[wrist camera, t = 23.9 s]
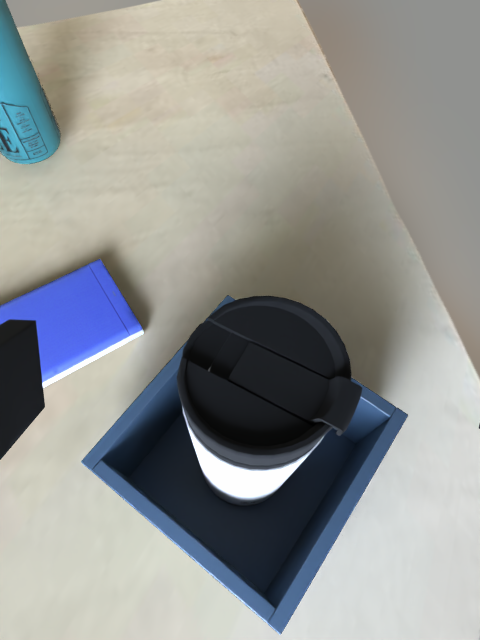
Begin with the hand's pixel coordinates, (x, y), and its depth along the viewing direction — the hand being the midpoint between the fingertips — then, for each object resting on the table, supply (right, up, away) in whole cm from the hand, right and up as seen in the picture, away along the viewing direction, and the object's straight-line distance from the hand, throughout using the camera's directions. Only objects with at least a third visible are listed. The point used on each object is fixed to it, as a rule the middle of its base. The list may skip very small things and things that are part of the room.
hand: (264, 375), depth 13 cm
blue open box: (0, -9, +21) cm, 23 cm away
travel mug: (0, -9, +20) cm, 22 cm away
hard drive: (-16, 0, +26) cm, 30 cm away
